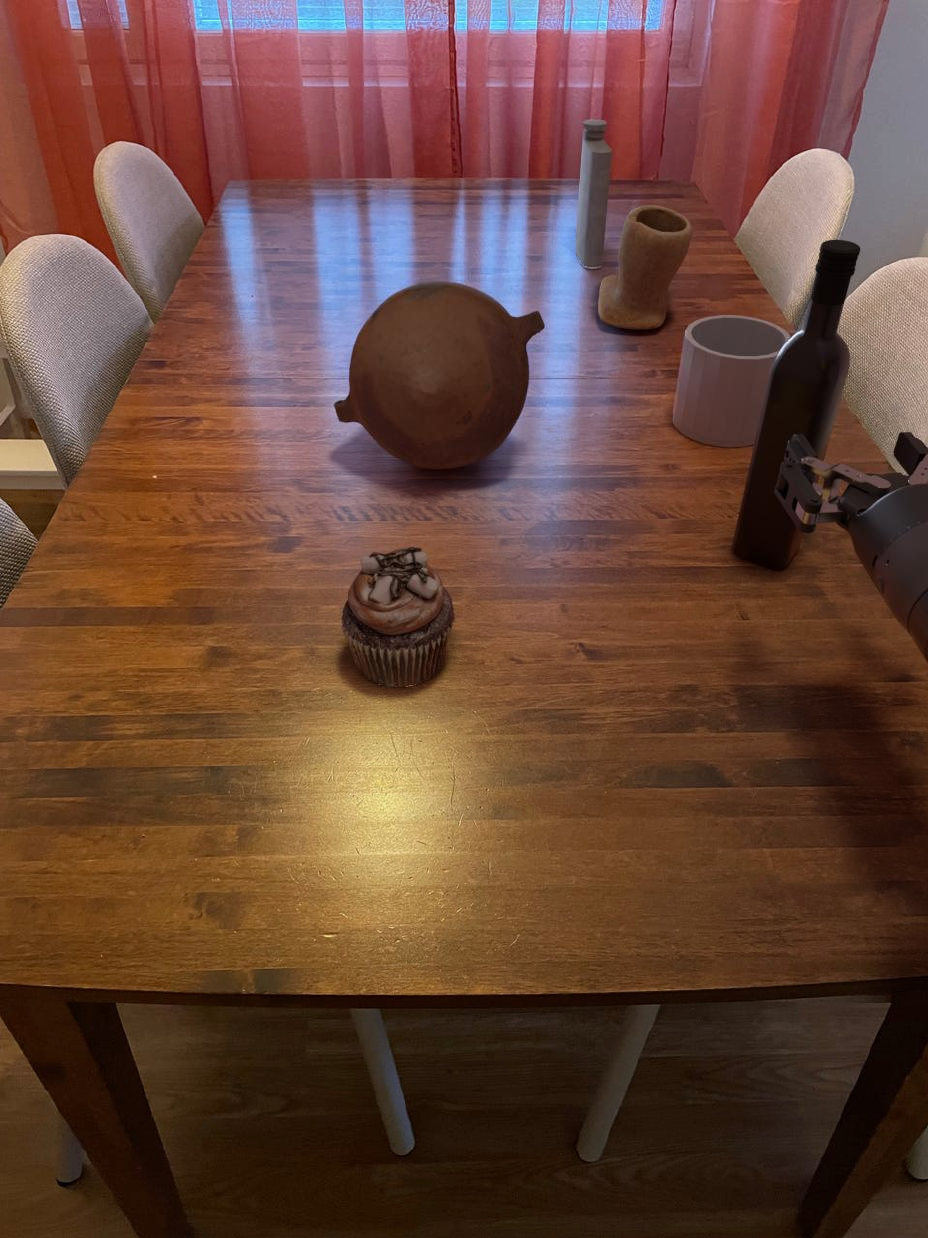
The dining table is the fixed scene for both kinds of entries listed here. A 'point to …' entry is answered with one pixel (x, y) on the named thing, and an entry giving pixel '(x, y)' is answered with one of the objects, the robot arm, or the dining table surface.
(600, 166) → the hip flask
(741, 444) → the cup
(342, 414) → the jug
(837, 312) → the wine bottle
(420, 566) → the cupcake
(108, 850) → the dining table surface
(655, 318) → the brown boot vase
